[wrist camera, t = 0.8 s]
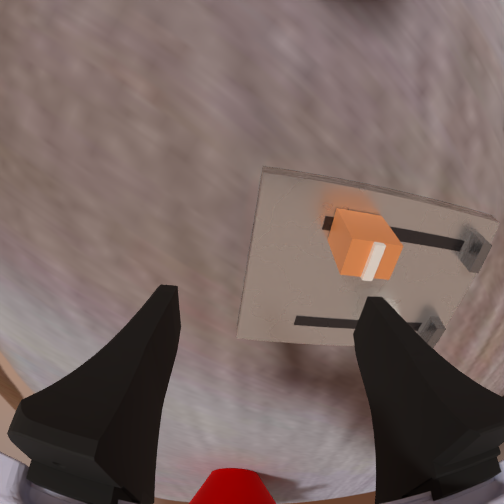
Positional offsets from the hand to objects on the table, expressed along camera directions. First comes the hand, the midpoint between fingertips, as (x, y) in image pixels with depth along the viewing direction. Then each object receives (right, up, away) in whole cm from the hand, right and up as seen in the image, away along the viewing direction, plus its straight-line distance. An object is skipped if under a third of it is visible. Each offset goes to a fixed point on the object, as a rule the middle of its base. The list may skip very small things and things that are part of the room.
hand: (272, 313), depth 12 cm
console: (+8, +1, +11) cm, 13 cm away
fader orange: (+5, +4, +7) cm, 10 cm away
